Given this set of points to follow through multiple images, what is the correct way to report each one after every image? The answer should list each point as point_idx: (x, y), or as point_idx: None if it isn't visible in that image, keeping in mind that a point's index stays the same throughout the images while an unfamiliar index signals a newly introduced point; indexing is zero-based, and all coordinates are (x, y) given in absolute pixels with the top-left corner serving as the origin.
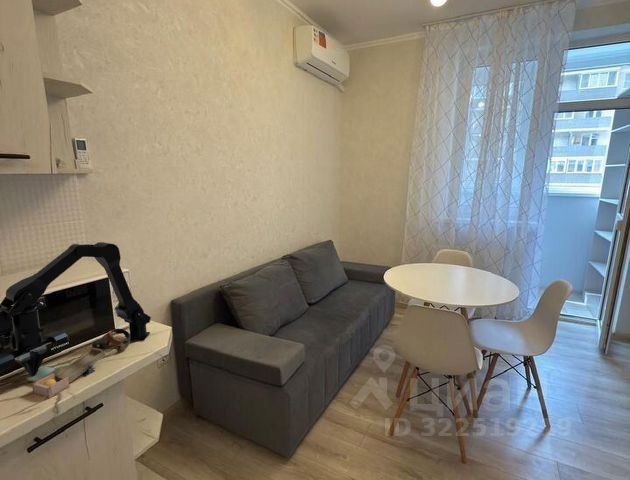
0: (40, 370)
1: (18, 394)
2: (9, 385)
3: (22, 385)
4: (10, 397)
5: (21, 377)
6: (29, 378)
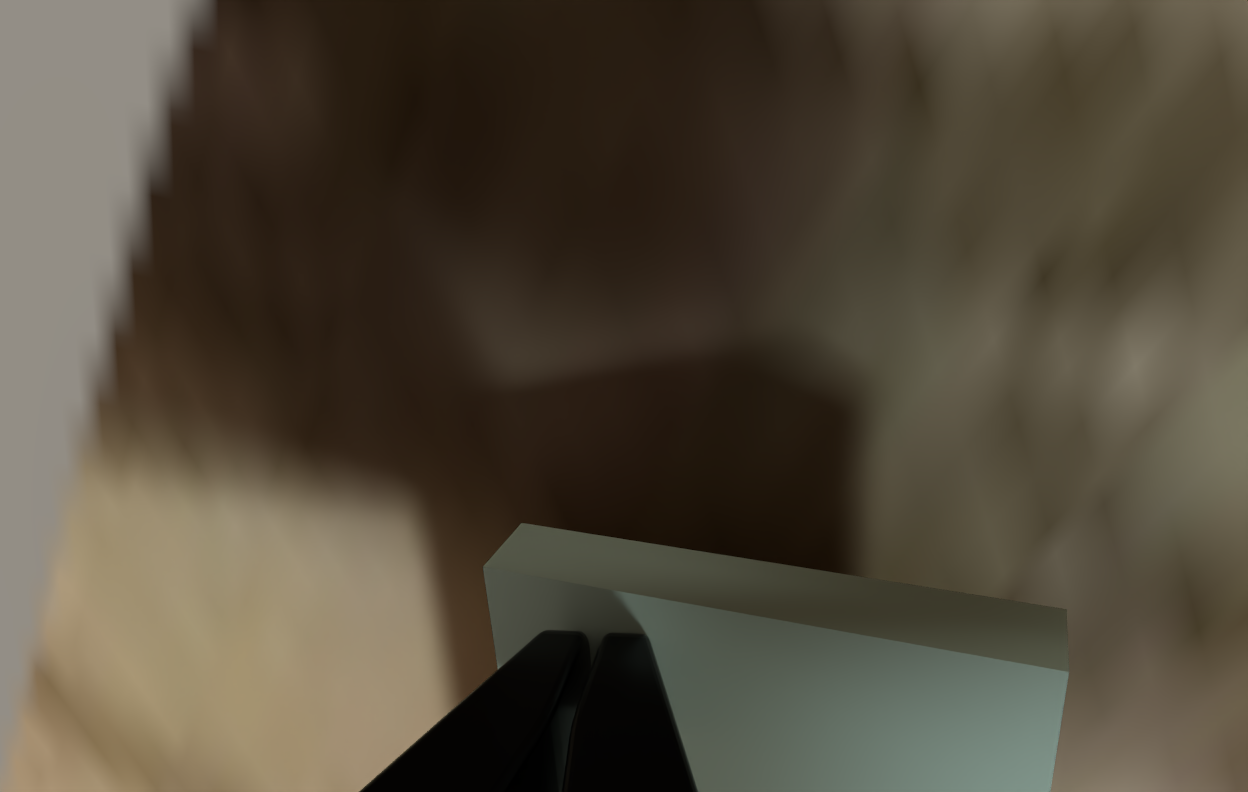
0: (836, 713)
1: (221, 729)
2: (231, 178)
3: (404, 493)
4: (102, 689)
5: (602, 14)
6: (502, 655)
